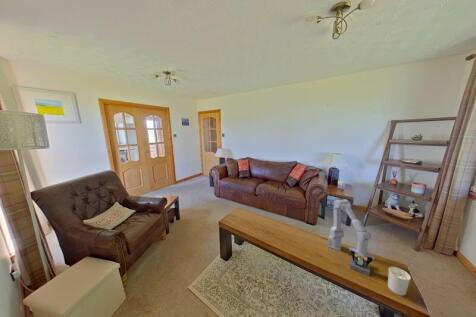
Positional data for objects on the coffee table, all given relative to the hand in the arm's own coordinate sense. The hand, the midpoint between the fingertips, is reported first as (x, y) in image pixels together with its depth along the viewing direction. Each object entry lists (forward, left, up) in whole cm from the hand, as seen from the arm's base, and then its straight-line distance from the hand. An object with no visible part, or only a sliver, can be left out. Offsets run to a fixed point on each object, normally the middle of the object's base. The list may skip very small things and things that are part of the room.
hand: (360, 263), depth 119 cm
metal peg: (0, 0, -3) cm, 3 cm away
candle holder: (+19, -6, -4) cm, 20 cm away
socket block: (0, +2, -4) cm, 4 cm away
